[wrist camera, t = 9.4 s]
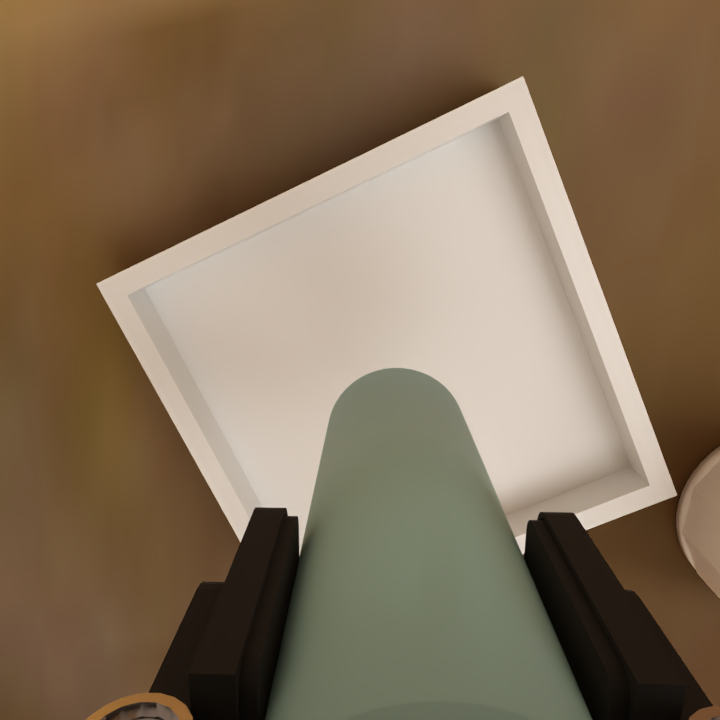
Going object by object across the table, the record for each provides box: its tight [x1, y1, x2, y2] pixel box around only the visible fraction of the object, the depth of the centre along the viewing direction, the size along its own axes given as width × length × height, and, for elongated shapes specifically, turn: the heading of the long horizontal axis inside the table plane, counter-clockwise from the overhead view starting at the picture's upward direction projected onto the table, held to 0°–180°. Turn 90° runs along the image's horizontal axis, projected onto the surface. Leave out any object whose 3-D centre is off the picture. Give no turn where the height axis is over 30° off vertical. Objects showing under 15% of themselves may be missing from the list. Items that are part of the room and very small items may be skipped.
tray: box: [97, 76, 677, 556], centre depth 23 cm, size 16×16×2 cm
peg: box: [265, 368, 593, 720], centre depth 12 cm, size 4×4×12 cm
